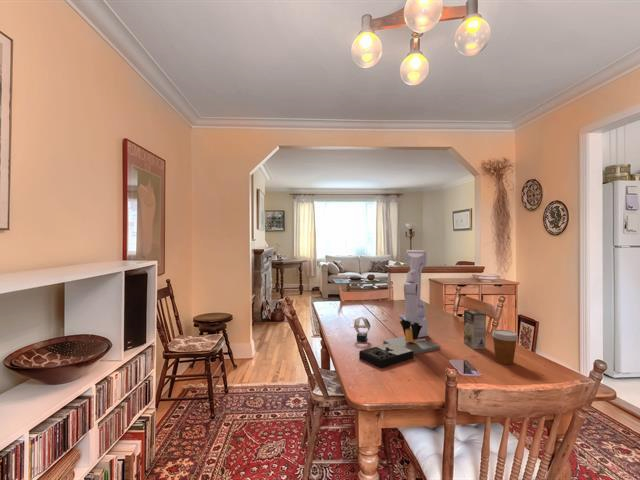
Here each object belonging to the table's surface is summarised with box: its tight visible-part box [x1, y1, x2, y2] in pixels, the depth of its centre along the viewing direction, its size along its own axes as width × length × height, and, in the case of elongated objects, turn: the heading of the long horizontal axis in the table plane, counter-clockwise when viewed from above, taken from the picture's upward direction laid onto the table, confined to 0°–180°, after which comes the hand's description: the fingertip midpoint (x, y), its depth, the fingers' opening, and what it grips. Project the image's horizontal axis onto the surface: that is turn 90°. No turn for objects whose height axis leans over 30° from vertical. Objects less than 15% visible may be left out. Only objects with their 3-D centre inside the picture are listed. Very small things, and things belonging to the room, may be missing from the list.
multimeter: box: [358, 343, 415, 369], centre depth 141 cm, size 13×19×5 cm
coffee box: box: [463, 309, 487, 350], centre depth 157 cm, size 9×6×16 cm
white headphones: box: [350, 318, 366, 329], centre depth 191 cm, size 9×8×4 cm
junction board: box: [383, 336, 441, 355], centre depth 157 cm, size 18×18×2 cm
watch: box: [353, 316, 371, 343], centre depth 166 cm, size 6×8×11 cm
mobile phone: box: [448, 359, 482, 377], centre depth 132 cm, size 8×1×15 cm
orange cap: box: [404, 328, 416, 342], centre depth 157 cm, size 5×5×5 cm
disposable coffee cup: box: [491, 329, 519, 365], centre depth 138 cm, size 10×10×12 cm
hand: (411, 337), depth 157 cm, fingers closed on orange cap, 5 cm apart
